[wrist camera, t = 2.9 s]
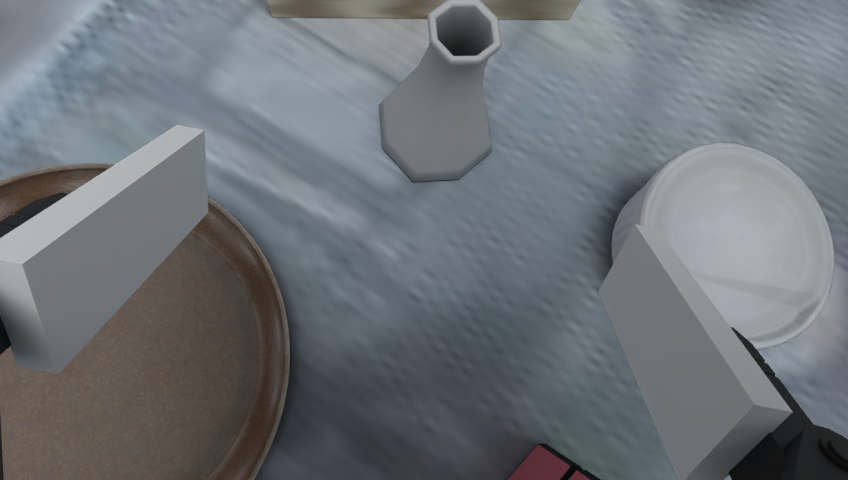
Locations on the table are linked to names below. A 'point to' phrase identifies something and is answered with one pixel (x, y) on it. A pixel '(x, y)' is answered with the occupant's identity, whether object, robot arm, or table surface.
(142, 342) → the plant saucer
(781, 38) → the table surface
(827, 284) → the ramekin
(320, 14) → the birch board
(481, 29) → the flask
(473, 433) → the table surface
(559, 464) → the puzzle cube
